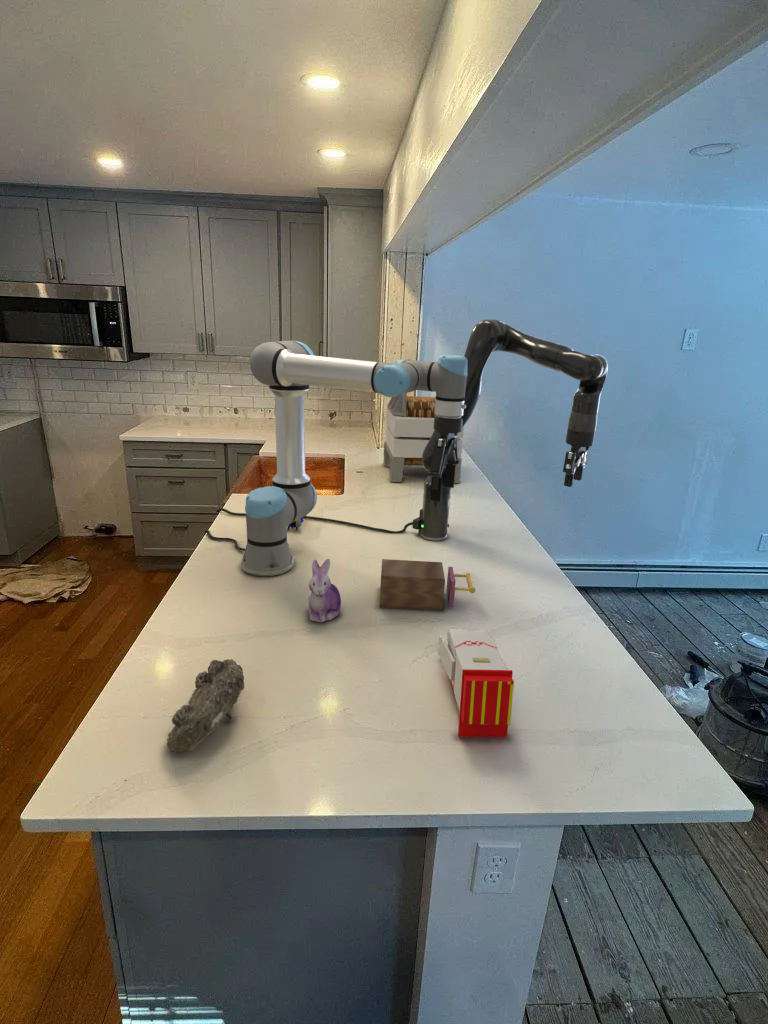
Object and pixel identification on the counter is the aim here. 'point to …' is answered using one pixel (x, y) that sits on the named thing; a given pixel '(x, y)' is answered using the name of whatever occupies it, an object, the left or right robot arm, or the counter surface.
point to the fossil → (206, 705)
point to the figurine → (323, 594)
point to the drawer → (452, 588)
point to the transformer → (411, 434)
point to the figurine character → (296, 524)
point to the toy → (478, 682)
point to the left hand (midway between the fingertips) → (442, 493)
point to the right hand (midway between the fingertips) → (572, 483)
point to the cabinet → (412, 585)
